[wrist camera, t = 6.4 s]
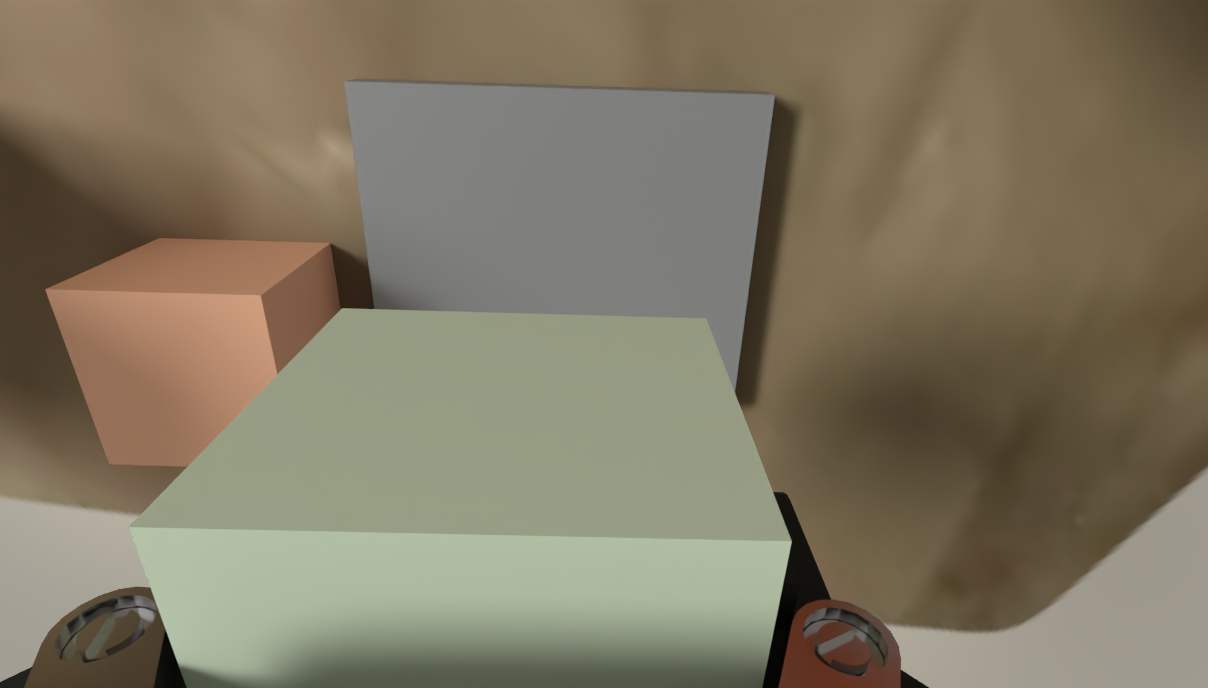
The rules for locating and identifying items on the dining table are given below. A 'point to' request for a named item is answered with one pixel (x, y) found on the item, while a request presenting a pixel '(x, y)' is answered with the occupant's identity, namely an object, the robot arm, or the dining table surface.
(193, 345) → the terracotta block
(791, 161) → the dining table surface
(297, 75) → the dining table surface
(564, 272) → the gray plate
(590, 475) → the sage block
